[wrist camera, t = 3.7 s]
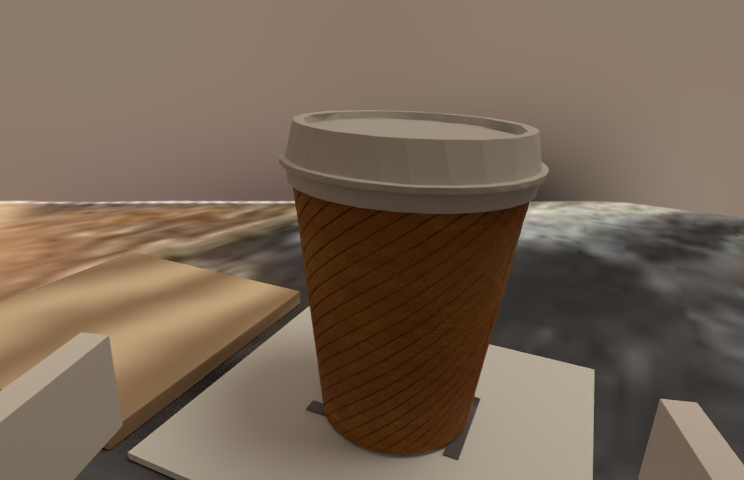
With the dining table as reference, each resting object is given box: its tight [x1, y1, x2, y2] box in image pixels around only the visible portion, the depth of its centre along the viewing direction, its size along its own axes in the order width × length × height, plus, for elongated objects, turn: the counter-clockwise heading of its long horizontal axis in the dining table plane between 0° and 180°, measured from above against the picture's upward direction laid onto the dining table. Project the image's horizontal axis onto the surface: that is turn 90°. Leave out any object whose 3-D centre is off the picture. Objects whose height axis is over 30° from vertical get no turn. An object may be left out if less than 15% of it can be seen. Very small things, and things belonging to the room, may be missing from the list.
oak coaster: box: [0, 252, 300, 450], centre depth 28 cm, size 14×14×1 cm
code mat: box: [128, 306, 594, 480], centre depth 22 cm, size 16×14×1 cm
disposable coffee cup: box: [279, 110, 549, 455], centre depth 20 cm, size 10×10×12 cm
